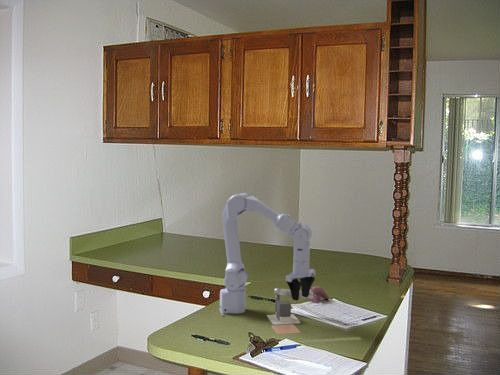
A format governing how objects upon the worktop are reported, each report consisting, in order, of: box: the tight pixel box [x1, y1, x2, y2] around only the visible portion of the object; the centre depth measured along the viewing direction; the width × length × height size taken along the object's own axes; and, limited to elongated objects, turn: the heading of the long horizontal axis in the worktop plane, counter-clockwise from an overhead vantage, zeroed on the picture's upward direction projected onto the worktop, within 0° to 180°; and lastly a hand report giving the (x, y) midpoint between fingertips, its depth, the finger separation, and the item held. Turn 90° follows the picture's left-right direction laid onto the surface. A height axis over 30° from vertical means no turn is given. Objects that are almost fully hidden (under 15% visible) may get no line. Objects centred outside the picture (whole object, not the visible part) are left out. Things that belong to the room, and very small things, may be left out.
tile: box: [271, 324, 301, 335], centre depth 173 cm, size 8×8×1 cm
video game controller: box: [307, 285, 330, 304], centre depth 208 cm, size 10×5×7 cm, turn 141°
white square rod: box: [274, 287, 313, 299], centre depth 189 cm, size 2×14×2 cm, turn 71°
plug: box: [277, 299, 292, 321], centre depth 182 cm, size 4×4×6 cm
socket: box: [266, 295, 302, 326], centre depth 185 cm, size 10×14×7 cm
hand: (300, 298), depth 183 cm, fingers open, 5 cm apart
